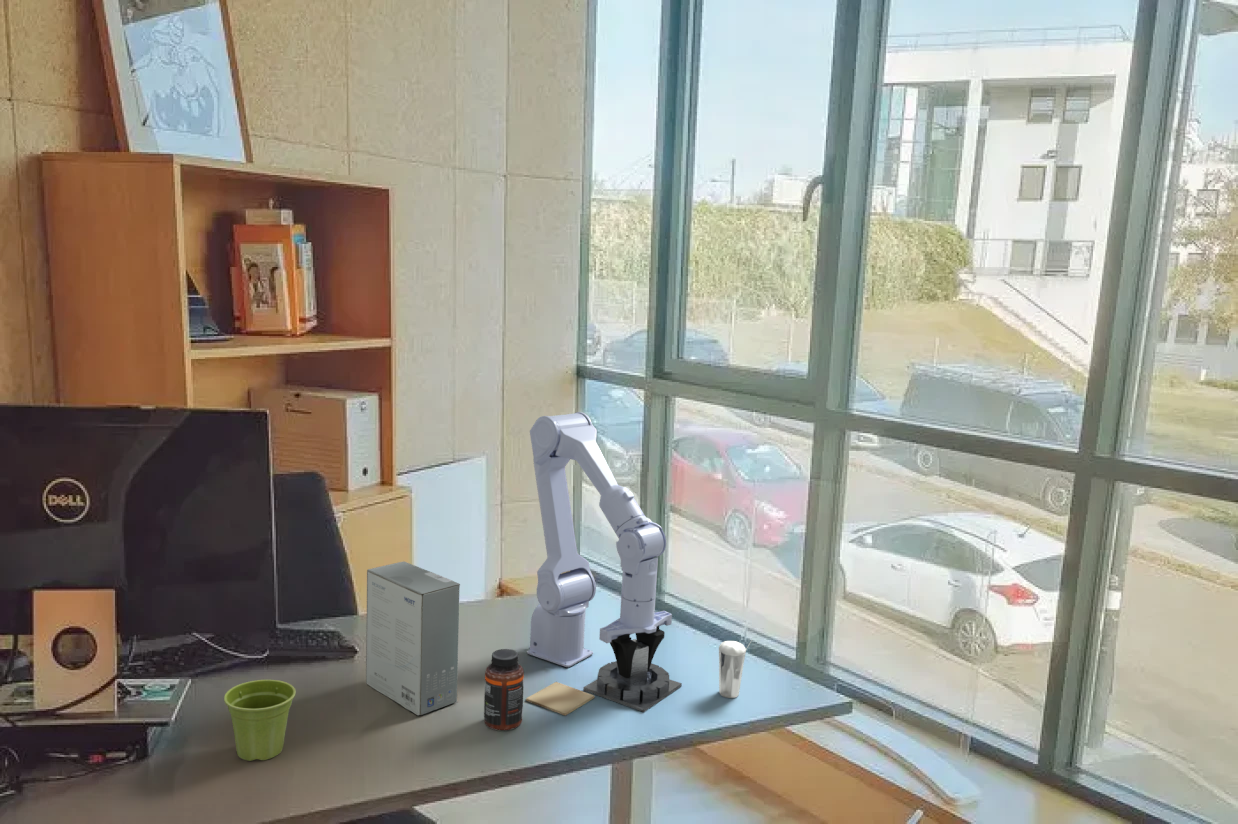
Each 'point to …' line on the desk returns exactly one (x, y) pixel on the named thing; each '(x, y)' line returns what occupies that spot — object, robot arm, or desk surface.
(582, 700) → the cork pad
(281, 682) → the plant pot
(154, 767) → the desk surface
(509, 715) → the supplement bottle
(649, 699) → the dark grey collar
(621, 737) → the desk surface
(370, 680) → the hard drive box
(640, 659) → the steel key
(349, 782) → the desk surface
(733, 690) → the milkshake
